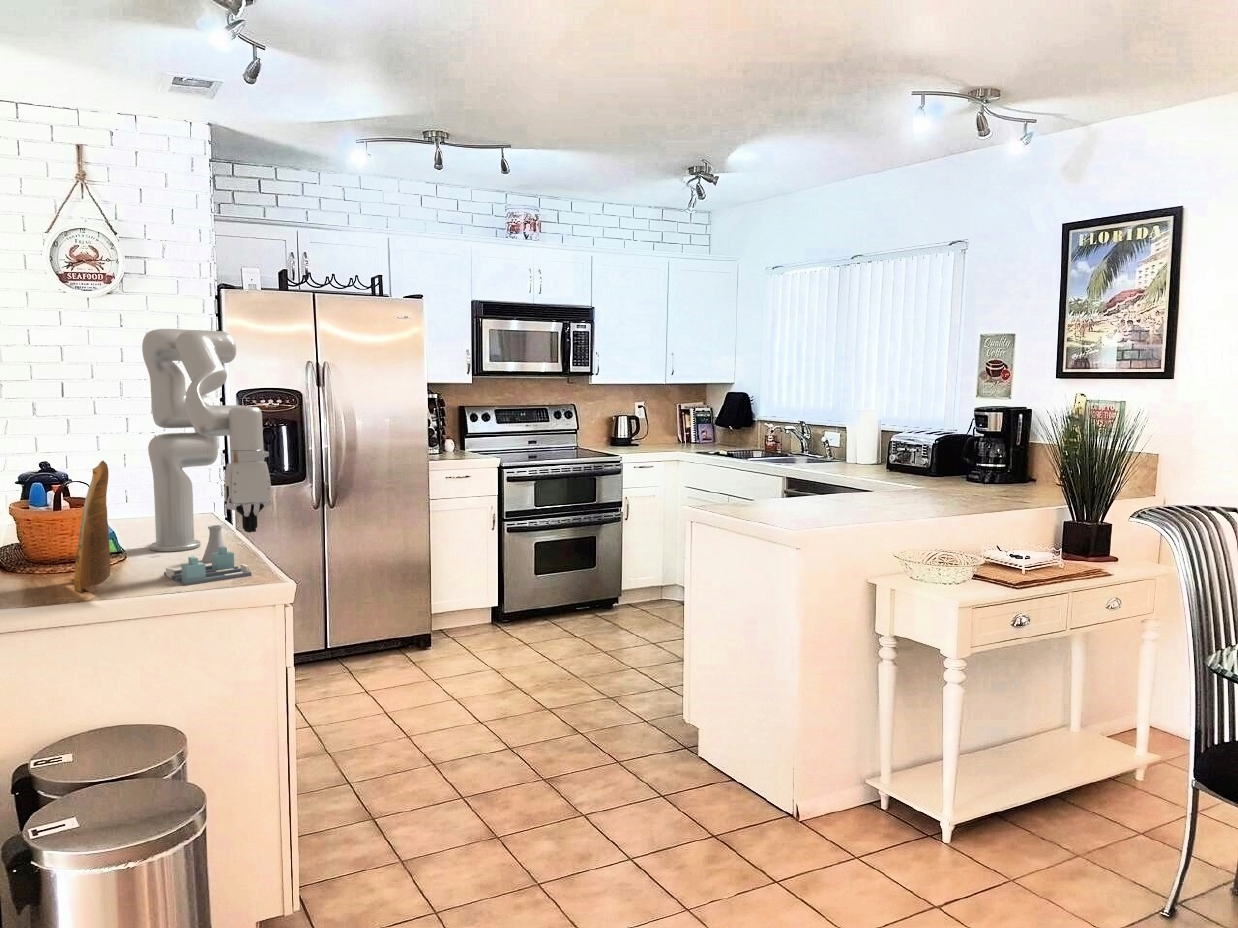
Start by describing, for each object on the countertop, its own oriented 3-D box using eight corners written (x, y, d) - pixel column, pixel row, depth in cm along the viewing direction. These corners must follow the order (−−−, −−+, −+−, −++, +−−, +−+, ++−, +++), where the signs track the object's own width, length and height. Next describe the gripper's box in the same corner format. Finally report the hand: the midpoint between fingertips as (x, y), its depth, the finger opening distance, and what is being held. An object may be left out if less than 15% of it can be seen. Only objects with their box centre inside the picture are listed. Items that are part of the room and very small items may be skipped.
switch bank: (163, 579, 210) (162, 566, 210) (227, 570, 221) (227, 557, 220) (185, 590, 200) (185, 577, 200) (252, 580, 210) (251, 567, 210)
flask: (220, 568, 223) (218, 529, 222) (194, 567, 224) (193, 527, 223) (238, 562, 230) (236, 524, 229) (213, 561, 231) (211, 522, 230)
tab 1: (181, 581, 204) (181, 557, 203) (200, 578, 207) (199, 555, 206) (187, 583, 202) (186, 559, 201) (205, 581, 204) (205, 557, 204)
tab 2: (211, 569, 216) (211, 547, 215) (228, 567, 219) (227, 545, 218) (217, 571, 214) (216, 549, 213) (234, 569, 216) (233, 547, 216)
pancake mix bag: (123, 574, 214) (118, 459, 211) (101, 594, 196) (95, 467, 193) (91, 576, 212) (86, 459, 210) (66, 595, 194) (60, 468, 191)
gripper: (270, 454, 226) (273, 526, 227) (209, 458, 215) (213, 533, 217) (283, 456, 220) (286, 529, 222) (222, 460, 210) (225, 537, 212)
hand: (250, 531), depth 219 cm, fingers closed
